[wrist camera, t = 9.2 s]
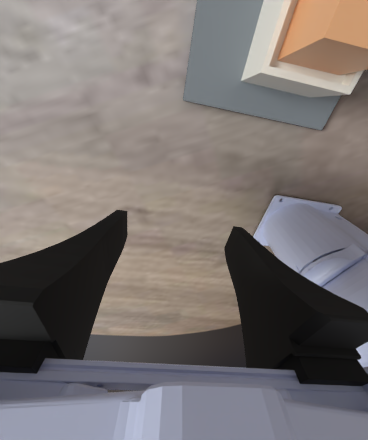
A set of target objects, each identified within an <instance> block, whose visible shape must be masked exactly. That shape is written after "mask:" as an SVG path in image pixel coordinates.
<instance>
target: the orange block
mask: <svg viewBox="0 0 368 440" xmlns="http://www.w3.org/2000/svg"><path fill="white" fill-rule="evenodd" d="M277 61H282V62H286V63H290V64H294V65H298V66H302V67H307V68H311V69H315V70H319V71H323V72H327V73H331V74H336V75H342V74H347V73H352V72H357V71H362V70H367V69H368V0H298V1H297V4H296V7H295V10H294V13H293V15H292V18H291V21H290V24H289V27H288V30H287V33H286V36H285V39H284V41H283V44H282V47H281V50H280V53H279V56H278V59H277Z"/></svg>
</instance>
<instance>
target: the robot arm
mask: <svg viewBox="0 0 368 440" xmlns="http://www.w3.org/2000/svg"><path fill="white" fill-rule="evenodd" d="M280 199H282V200H281V201H279V200H280ZM330 207H331V208H330ZM341 209H342V207H341V206H339V205H335V204H329V203H323V202H317V201H311V200H305V199H299V198H293V197H287V196H281V195H276V196H274V197H273V199H272V201H271V203H270V205H269V207H268V209H267V210H266V212H265V214H264V216H263V218H262V220H261V222H260V224H259V226H258V228H257V230H256V232H255V234H254V236H251V235H250V234H249V233H248V232H247V231H246V230H245V229H243V228H242V227H235V226H233V229H232V231H231V234H230V236H229V238H228V241H227V243H226V246H225V256H226V262H227V265H228V269H229V272H230V275H231V279H232V282H233V285H234V289H235V292H236V296H237V301H238V307H239V312H240V318H241V325H242V332H243V339H244V346H245V357H246V366H247V367H246V368H238V367H217V366H197V365H176V364H154V363H133V362H114V361H92V360H83V358H84V354H85V351H86V347H87V344H88V340H89V337H90V334H91V331H92V328H93V324H94V321H95V318H96V315H97V312H98V309H99V306H100V303H101V300H102V297H103V294H104V291H105V288H106V285H107V283H108V281H109V278H110V276H111V274H112V272H113V270H114V267H115V265H116V263H117V261H118V259H119V257H120V255H121V253H122V250H123V248H124V245H125V242H126V238H127V211H122V210H116V211H115V212H113V213H112V214H110V215H109V216H107V217H106V218H104V219H103V220H101V221H100V222H98V223H97V224H95V225H93V226H92V227H90V228H88V229H87V230H85V231H83V232H81V233H79V234H78V235H76V236H74V237H72V238H69V239H67V240H65V241H63V242H61V243H58V244H56V245H53V246H51V247H48V248H46V249H43V250H40V251H38V252H35V253H32V254H29V255H26V256H23V257H19V258H16V259H13V260H10V261H6V262H2V263H0V440H368V234H367V233H365V232H364V231H362V230H361V229H359V228H358V227H356V226H355V225H353V224H352V223H350V222H349V221H348V220H346V219H345V218H343V217H342V216H340V215H339V214H338V213H339V212H340V211H341ZM262 245H265V246H270V248H271V249H272V251H273V252H274V254H275V255H276V257H275V256H274V255H273V254H272V253H271V252H269V251H268V250H267V249H266V248H265V247H264V246H262ZM107 390H134V391H128V392H115V393H114V392H113V393H108V392H107Z"/></svg>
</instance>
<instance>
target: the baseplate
mask: <svg viewBox="0 0 368 440" xmlns="http://www.w3.org/2000/svg"><path fill="white" fill-rule="evenodd" d="M263 1H264V0H197V5H196V12H195V19H194V26H193V33H192V40H191V47H190V54H189V61H188V68H187V75H186V82H185V89H184V96H183V100H184V101H188V102H193V103H197V104H202V105H207V106H211V107H216V108H220V109H225V110H229V111H234V112H239V113H243V114H248V115H252V116H257V117H262V118H266V119H271V120H275V121H280V122H285V123H289V124H294V125H298V126H303V127H308V128H312V129H317V130H322V129H323V127H324V125H325V123H326V122H327V120H328V118H329V116H330V114H331V113H332V111H333V109H334V107H335V105H336V104H337V102H338V100H339V98H340V96H341V95H338V96H325V97H311V98H310V97H306V96H301V95H297V94H293V93H289V92H285V91H280V90H276V89H272V88H268V87H264V86H259V85H255V84H251V83H247V82H243V81H241V79H242V75H243V72H244V68H245V65H246V61H247V58H248V54H249V51H250V47H251V44H252V40H253V36H254V33H255V29H256V26H257V22H258V19H259V15H260V12H261V8H262V5H263Z"/></svg>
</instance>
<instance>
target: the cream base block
mask: <svg viewBox="0 0 368 440" xmlns="http://www.w3.org/2000/svg"><path fill="white" fill-rule="evenodd" d="M297 1H298V0H264V1H263V5H262V8H261V12H260V15H259V19H258V22H257V26H256V29H255V33H254V36H253V40H252V44H251V47H250V51H249V54H248V58H247V61H246V65H245V68H244V72H243V75H242V79H241V81H243V82H247V83H251V84H255V85H259V86H264V87H268V88H272V89H276V90H280V91H285V92H289V93H293V94H297V95H301V96H306V97H310V98H311V97H325V96H338V95H350V94H351V92H352V90H353V89H354V87H355V85H356V83H357V82H358V80H359V78H360V76H361V75H362V73H363V71H364V70H362V71H357V72H352V73H347V74H342V75H336V74H331V73H327V72H323V71H319V70H315V69H311V68H307V67H302V66H298V65H294V64H290V63H286V62H282V61H277V59H278V56H279V53H280V50H281V47H282V44H283V41H284V39H285V36H286V33H287V30H288V27H289V24H290V21H291V18H292V15H293V13H294V10H295V7H296V4H297Z"/></svg>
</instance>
